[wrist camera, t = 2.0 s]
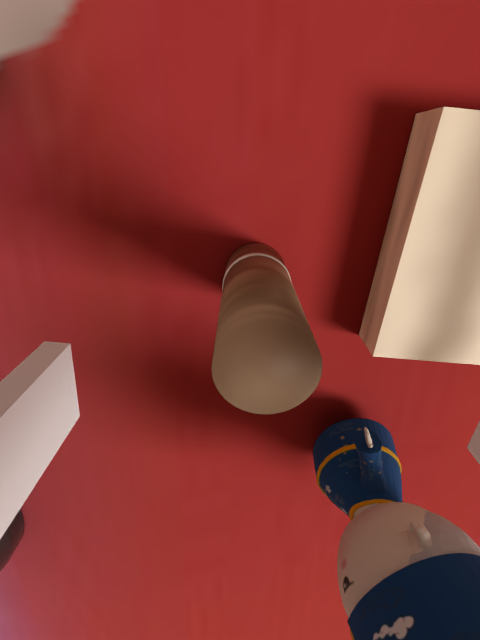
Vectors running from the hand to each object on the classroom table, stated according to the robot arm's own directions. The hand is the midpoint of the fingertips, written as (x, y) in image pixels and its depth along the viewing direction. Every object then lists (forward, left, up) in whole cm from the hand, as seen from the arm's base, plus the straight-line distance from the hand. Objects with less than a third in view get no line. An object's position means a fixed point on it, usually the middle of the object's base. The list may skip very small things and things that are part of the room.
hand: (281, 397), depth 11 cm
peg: (0, 0, -14) cm, 14 cm away
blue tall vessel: (+10, -13, -14) cm, 21 cm away
